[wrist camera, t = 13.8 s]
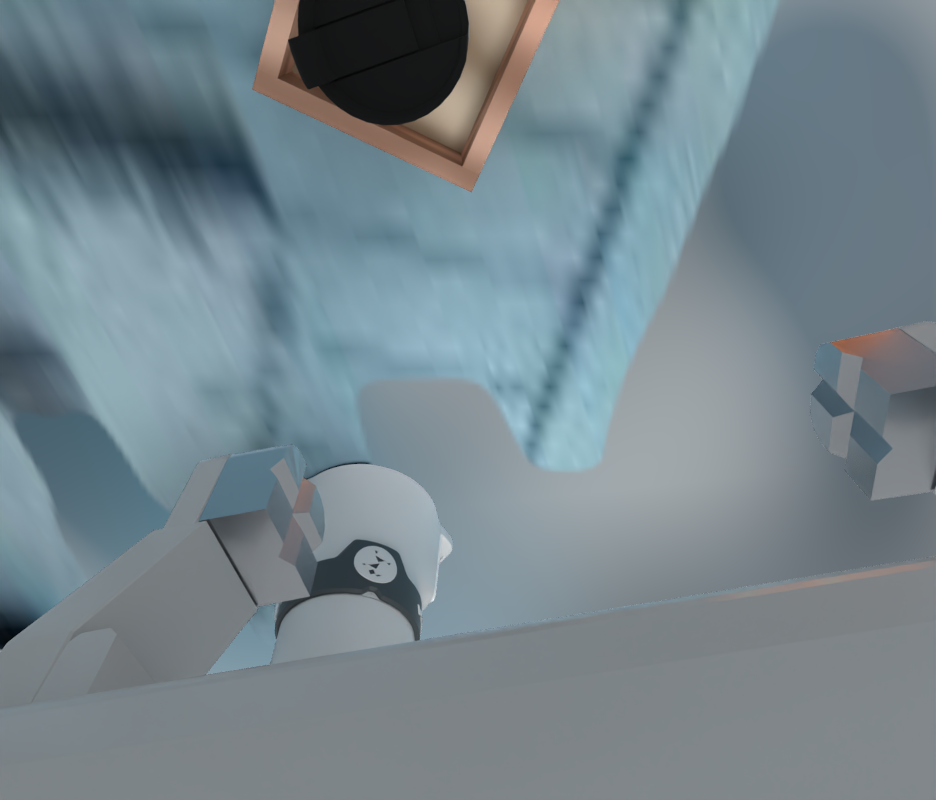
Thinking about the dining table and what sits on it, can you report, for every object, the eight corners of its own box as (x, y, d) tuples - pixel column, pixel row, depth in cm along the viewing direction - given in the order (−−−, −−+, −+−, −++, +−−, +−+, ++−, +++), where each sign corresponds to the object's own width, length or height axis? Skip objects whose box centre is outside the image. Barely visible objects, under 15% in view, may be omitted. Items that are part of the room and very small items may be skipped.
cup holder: (471, 177, 46) (473, 198, 41) (268, 81, 42) (245, 92, 37) (574, -52, 39) (592, -58, 34) (341, -193, 35) (324, -222, 30)
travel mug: (339, -20, 38) (252, -34, 21) (443, -59, 37) (440, -107, 20) (377, 90, 41) (328, 154, 24) (474, 56, 40) (492, 99, 23)
